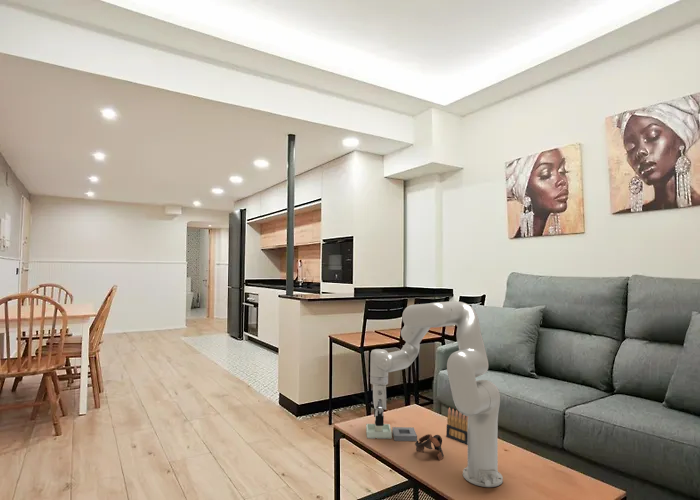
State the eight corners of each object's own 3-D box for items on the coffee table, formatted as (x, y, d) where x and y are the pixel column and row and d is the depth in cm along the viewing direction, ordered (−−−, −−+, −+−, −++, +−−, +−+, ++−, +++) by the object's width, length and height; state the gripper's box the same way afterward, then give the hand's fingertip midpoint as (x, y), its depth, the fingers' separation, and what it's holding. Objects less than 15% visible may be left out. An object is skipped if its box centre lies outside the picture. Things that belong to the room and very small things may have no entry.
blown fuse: (382, 434, 168) (383, 412, 168) (374, 434, 168) (375, 412, 168) (382, 431, 171) (382, 409, 172) (374, 431, 171) (374, 409, 172)
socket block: (417, 441, 163) (417, 436, 163) (394, 440, 163) (394, 435, 163) (413, 432, 172) (413, 427, 172) (392, 431, 172) (392, 427, 172)
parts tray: (391, 438, 165) (391, 432, 165) (367, 438, 165) (367, 432, 165) (389, 430, 174) (389, 424, 174) (366, 429, 174) (366, 423, 174)
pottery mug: (438, 465, 144) (426, 443, 145) (419, 469, 150) (407, 448, 151) (453, 446, 153) (441, 425, 154) (434, 450, 159) (423, 430, 160)
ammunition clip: (471, 444, 161) (471, 413, 162) (468, 445, 160) (468, 414, 160) (448, 435, 169) (448, 406, 170) (446, 436, 168) (446, 407, 169)
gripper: (390, 385, 162) (389, 429, 161) (386, 374, 179) (385, 414, 178) (371, 385, 162) (370, 429, 161) (369, 374, 179) (368, 413, 178)
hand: (378, 421), depth 170 cm, fingers open, 9 cm apart
